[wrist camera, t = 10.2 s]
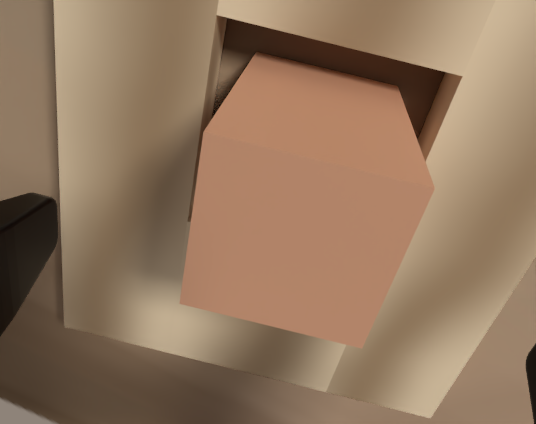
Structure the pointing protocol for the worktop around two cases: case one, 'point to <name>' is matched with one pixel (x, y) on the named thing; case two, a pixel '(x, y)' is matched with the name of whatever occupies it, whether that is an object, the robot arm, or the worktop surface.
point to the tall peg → (304, 200)
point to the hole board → (187, 162)
